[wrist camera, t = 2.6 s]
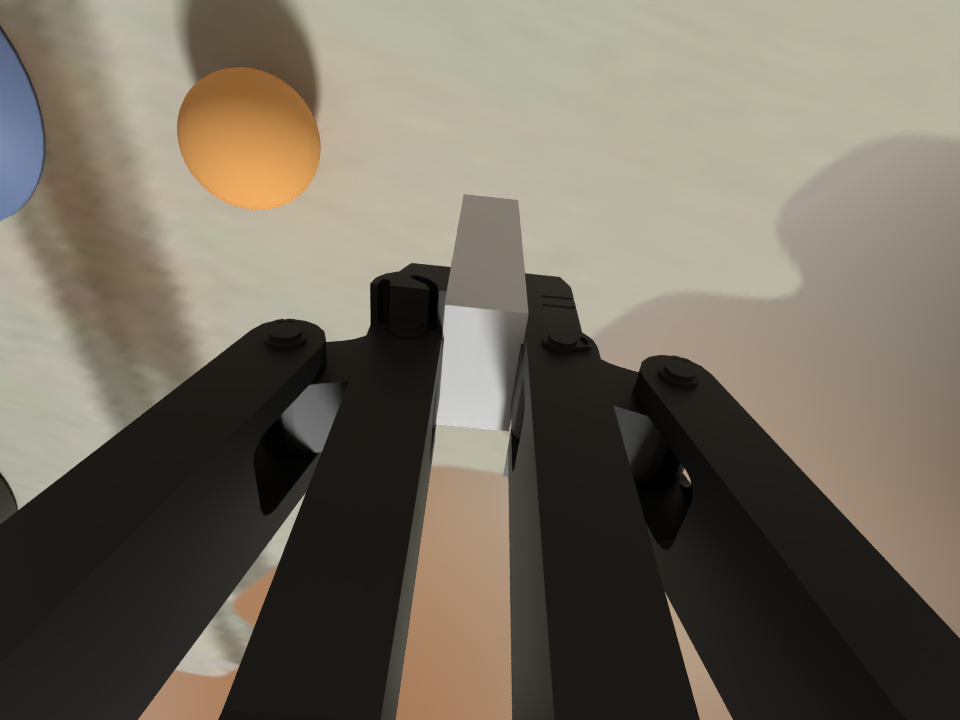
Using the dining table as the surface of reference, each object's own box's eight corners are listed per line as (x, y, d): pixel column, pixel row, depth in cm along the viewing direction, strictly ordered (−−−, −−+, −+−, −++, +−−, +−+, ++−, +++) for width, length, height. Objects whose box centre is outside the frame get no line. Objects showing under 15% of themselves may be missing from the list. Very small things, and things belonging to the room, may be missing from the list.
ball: (274, 210, 28) (231, 253, 23) (185, 110, 25) (118, 136, 21) (358, 145, 26) (330, 177, 21) (272, 32, 24) (219, 40, 19)
